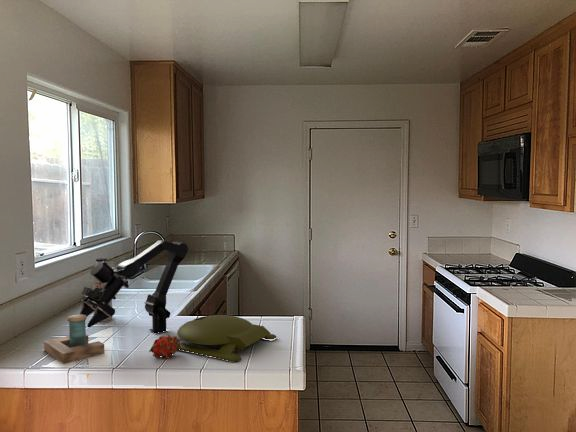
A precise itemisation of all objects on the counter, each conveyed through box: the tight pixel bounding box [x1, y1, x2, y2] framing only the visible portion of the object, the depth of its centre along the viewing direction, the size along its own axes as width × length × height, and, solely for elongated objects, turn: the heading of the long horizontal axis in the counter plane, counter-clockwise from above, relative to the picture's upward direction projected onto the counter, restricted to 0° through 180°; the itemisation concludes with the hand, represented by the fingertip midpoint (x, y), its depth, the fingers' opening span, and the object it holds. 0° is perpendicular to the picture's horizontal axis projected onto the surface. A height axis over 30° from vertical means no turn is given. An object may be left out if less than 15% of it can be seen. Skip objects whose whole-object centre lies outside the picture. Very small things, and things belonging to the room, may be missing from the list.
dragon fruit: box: [148, 334, 182, 359], centre depth 179 cm, size 8×8×12 cm
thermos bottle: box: [92, 257, 113, 323], centre depth 225 cm, size 8×8×28 cm
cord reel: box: [67, 314, 87, 348], centre depth 184 cm, size 6×6×13 cm
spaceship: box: [177, 314, 278, 362], centre depth 194 cm, size 35×31×10 cm
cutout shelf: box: [43, 333, 105, 364], centre depth 183 cm, size 15×19×4 cm
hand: (82, 324), depth 185 cm, fingers open, 9 cm apart
